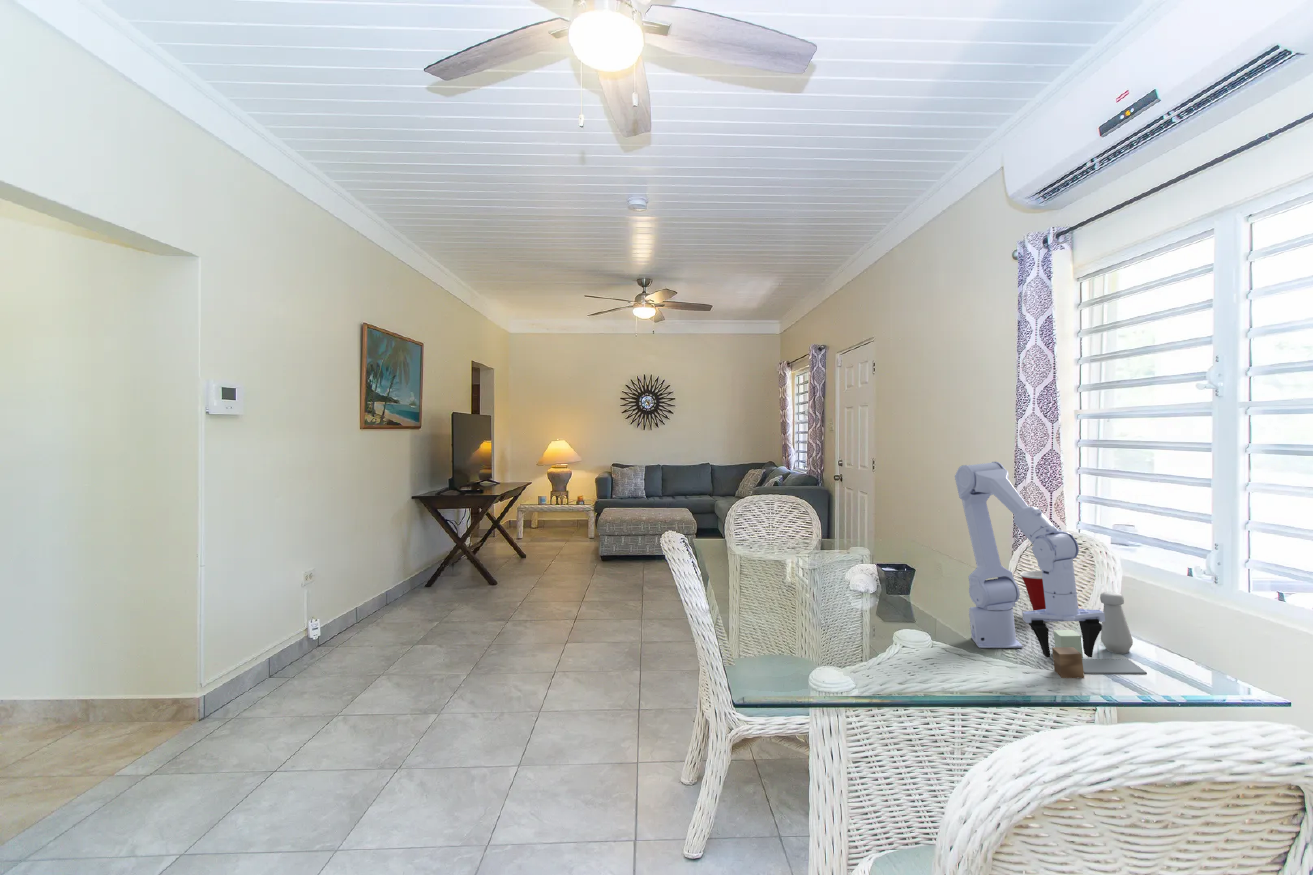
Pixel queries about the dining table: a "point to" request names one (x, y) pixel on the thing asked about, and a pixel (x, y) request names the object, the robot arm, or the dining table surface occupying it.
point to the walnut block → (1068, 662)
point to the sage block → (1068, 639)
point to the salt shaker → (1115, 624)
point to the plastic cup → (1034, 588)
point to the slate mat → (1111, 666)
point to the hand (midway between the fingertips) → (1067, 655)
